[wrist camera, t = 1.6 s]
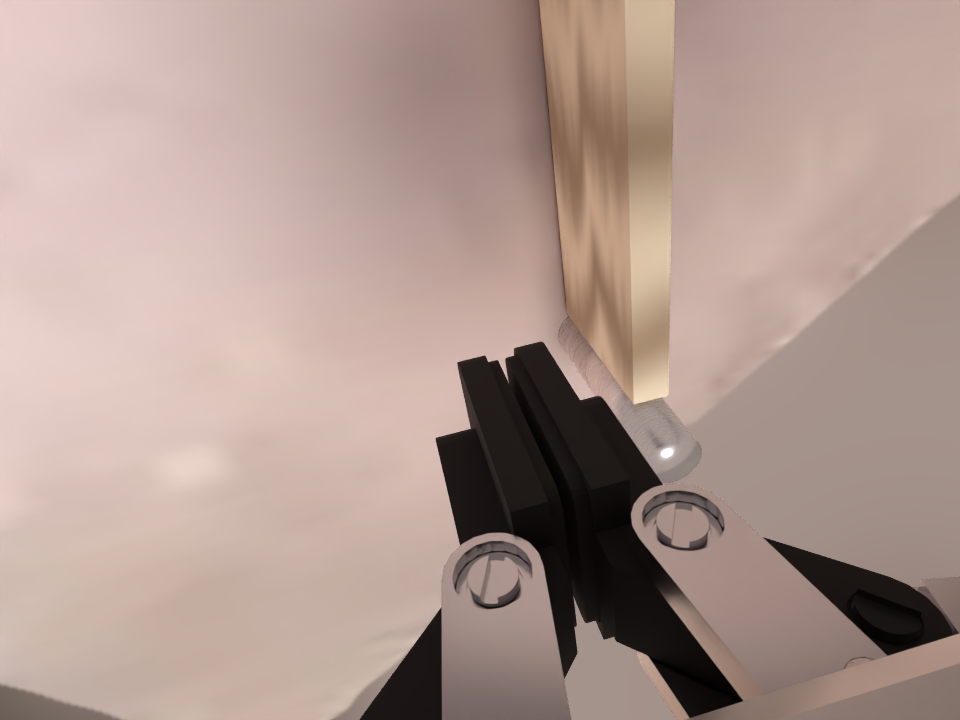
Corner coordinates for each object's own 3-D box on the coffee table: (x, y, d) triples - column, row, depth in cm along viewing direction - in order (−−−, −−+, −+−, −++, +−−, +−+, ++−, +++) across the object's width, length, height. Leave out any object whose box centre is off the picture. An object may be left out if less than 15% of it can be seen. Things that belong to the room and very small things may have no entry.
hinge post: (599, 308, 32) (703, 429, 23) (601, 345, 33) (700, 474, 24) (556, 318, 32) (644, 444, 23) (560, 355, 33) (644, 489, 24)
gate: (594, 307, 32) (669, 395, 24) (566, 314, 31) (632, 404, 24) (564, -192, 21) (681, -296, 14) (521, -184, 21) (615, -286, 14)
